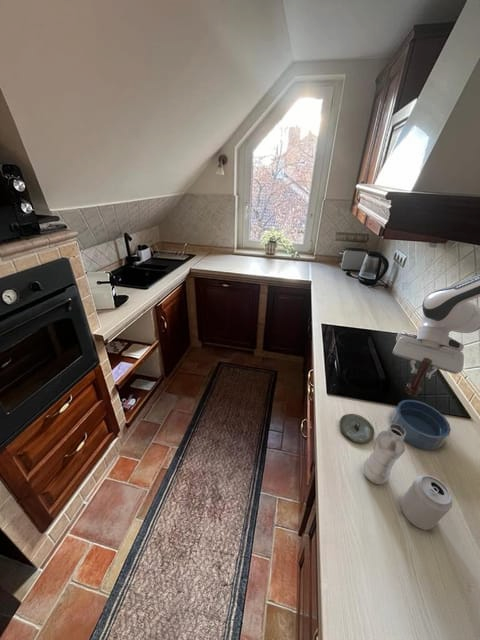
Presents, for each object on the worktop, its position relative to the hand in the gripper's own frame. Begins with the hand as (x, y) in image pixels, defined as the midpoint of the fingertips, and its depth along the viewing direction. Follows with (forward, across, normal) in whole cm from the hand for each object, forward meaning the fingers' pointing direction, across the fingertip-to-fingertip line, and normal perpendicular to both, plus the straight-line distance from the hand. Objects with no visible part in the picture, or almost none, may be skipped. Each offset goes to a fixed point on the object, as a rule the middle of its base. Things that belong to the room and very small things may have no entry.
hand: (420, 376), depth 88 cm
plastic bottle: (+35, -7, -16) cm, 39 cm away
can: (+38, +4, -19) cm, 42 cm away
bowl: (+18, +3, +1) cm, 18 cm away
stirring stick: (+6, 0, +6) cm, 8 cm away
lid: (+26, -14, -7) cm, 31 cm away
